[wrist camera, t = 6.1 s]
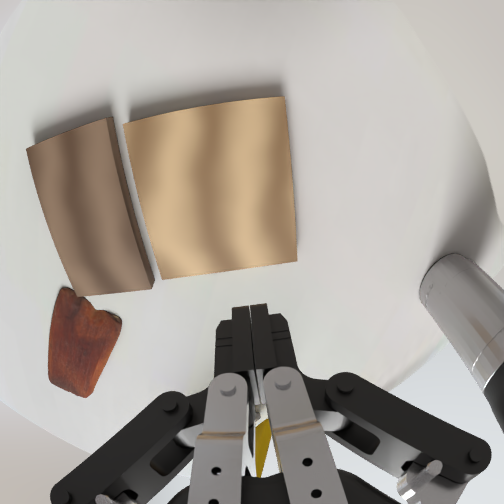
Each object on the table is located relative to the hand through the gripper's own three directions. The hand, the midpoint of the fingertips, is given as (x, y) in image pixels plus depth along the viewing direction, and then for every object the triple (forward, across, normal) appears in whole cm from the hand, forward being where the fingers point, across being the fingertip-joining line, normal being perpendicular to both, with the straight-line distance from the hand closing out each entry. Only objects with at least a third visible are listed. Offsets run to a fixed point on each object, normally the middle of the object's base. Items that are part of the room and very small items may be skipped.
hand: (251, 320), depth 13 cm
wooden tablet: (+18, +29, +20) cm, 39 cm away
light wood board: (+17, +2, -1) cm, 17 cm away
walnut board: (+17, +16, -1) cm, 23 cm away
